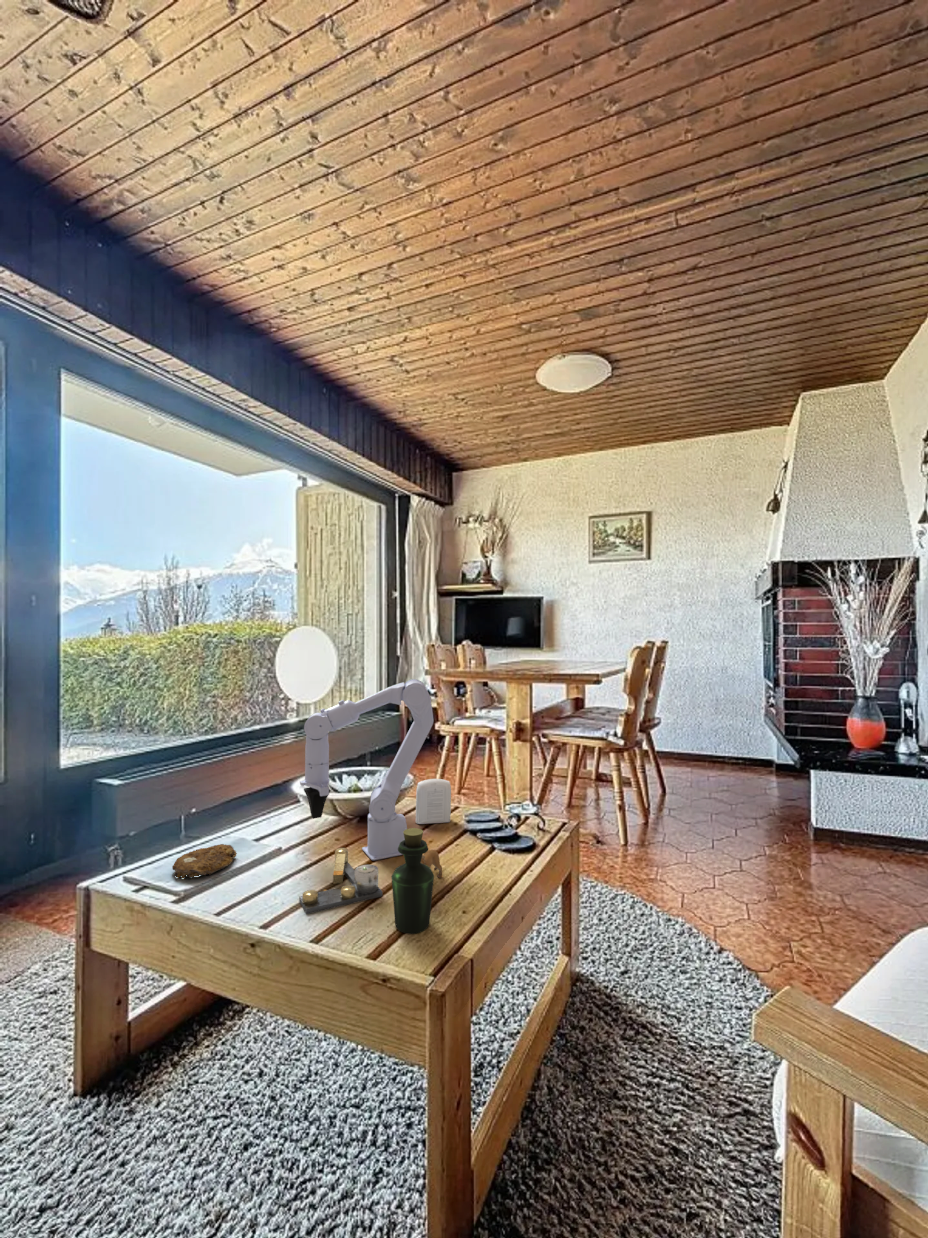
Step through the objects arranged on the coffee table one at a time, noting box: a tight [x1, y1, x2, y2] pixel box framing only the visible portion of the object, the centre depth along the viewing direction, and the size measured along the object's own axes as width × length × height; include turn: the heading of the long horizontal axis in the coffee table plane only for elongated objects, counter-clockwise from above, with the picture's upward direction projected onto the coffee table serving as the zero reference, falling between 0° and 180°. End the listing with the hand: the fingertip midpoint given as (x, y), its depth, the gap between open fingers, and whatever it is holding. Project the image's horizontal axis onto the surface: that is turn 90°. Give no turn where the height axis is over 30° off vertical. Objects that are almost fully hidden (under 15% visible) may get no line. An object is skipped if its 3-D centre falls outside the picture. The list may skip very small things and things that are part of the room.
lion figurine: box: [420, 849, 443, 879], centre depth 127 cm, size 15×5×9 cm, turn 165°
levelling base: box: [298, 861, 383, 915], centre depth 126 cm, size 16×18×6 cm
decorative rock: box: [172, 843, 238, 879], centre depth 136 cm, size 11×4×15 cm
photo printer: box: [415, 778, 452, 825], centre depth 167 cm, size 10×4×12 cm, turn 104°
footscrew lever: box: [332, 847, 349, 885], centre depth 132 cm, size 14×3×3 cm, turn 9°
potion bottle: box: [391, 827, 435, 935], centre depth 111 cm, size 8×8×18 cm
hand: (316, 817), depth 143 cm, fingers closed
